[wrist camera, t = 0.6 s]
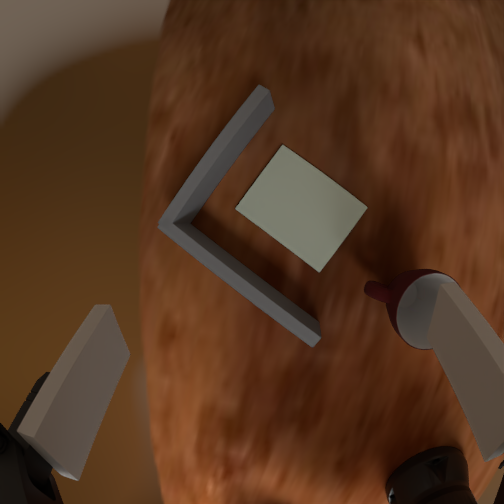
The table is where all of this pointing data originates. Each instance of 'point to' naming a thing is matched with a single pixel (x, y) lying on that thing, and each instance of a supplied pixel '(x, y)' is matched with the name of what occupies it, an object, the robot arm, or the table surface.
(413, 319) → the mug
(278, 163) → the corner arena
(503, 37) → the table surface
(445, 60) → the table surface
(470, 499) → the robot arm
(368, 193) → the table surface
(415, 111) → the table surface
